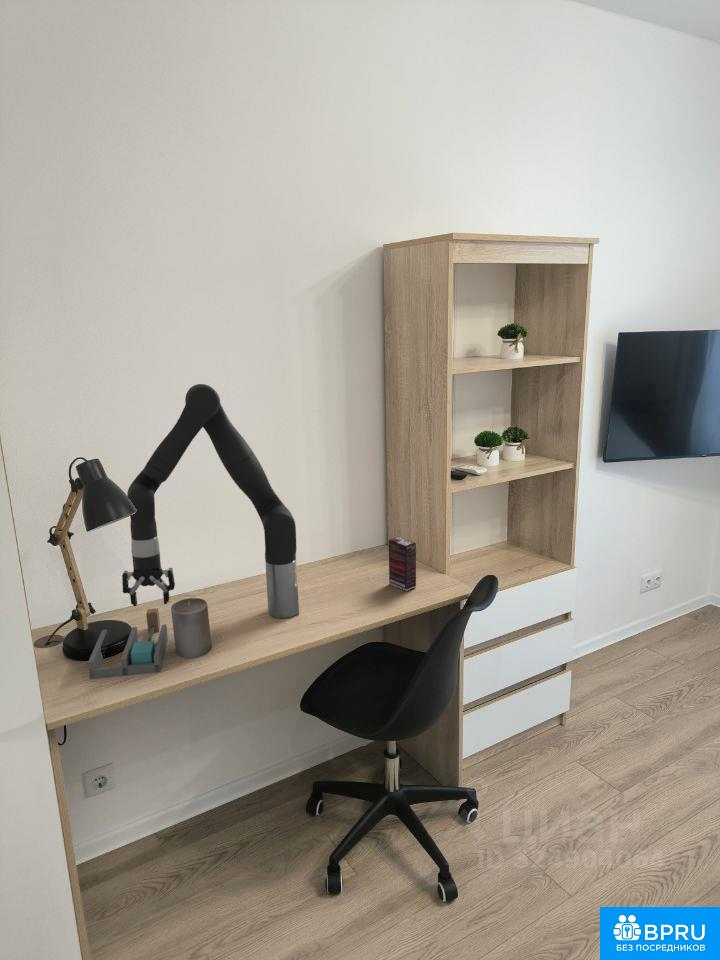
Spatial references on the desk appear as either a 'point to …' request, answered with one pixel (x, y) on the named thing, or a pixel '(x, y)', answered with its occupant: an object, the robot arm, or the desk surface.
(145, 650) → the block ended dumbbell
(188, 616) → the pillar candle
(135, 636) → the lane rack
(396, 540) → the supplement box
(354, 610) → the desk surface
